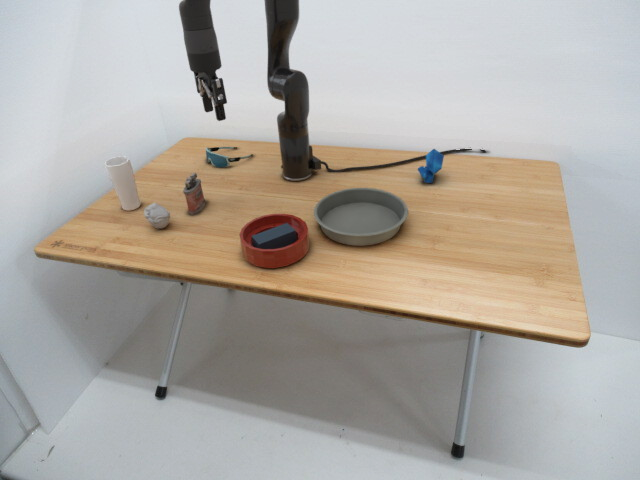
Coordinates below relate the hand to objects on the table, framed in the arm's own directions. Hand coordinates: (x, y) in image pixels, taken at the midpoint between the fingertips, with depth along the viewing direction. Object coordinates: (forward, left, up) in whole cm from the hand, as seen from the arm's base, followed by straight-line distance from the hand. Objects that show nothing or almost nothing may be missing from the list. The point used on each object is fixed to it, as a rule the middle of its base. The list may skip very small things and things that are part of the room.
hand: (215, 115), depth 119 cm
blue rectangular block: (-1, +25, -28) cm, 37 cm away
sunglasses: (-13, -35, -28) cm, 47 cm away
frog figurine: (+20, -4, -28) cm, 35 cm away
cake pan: (-25, +28, -28) cm, 47 cm away
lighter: (+8, -8, -28) cm, 30 cm away
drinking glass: (+24, -21, -28) cm, 43 cm away
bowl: (-1, +25, -28) cm, 38 cm away
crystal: (-57, +20, -28) cm, 67 cm away
